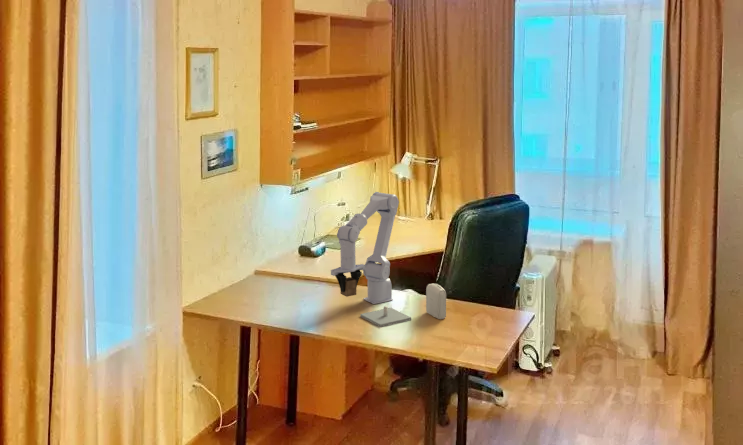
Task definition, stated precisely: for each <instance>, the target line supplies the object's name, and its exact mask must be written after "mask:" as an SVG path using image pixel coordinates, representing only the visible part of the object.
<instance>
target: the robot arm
mask: <svg viewBox="0 0 743 445" xmlns="http://www.w3.org/2000/svg"><path fill="white" fill-rule="evenodd" d="M399 203H400V201H399V198H398V196H397V194H395V193H392V194H391V193H387V192H386V193H385V192H379V191H375V192H373V193H372V195H371V196H369V203H368V204H367V205H366V206H365V207H364V209H363V210H362V211H361V213H358V212H357V213H355V214H354V216H353V217H352V218H351V219H350V220H349V221H347V223H346V224H345V225H341V226H340V227H339V228H338V230H337V233H336V237H337V239H338V243H339V246H340V247H339V248H340V266H339V267H336V268H333V269H330V276H333V277H334V276H335V278H336V280H337V283H338V285H339V288H340V289H341V290H340V292H341V291H342V292H345V282H346V278H347V276H346V275H345V274H348V273H350V277H351V278H353V279H355V280H356V288H358V283H359V281H360V279H361V277H362V275H364V276H365V279H366V280H367V296H366V297H363V299H362V300H364V301H366V302H369V303H370V304H372V305H376V304H380V303H381V304H382V303H385V302H390V301H393V300H394V299H393V297H392V295H393V294H392V291H393V289H392V281H391V279H390V278H389V276H390V273H391V272H390V271H391V270H390V267H391V263H390V261H389V260H388V259H387V253H388V249H389V244H390V240H391V236H392V232H393V227H394V222H395V218H396V215H397V213H398V208H399ZM376 212H377V213H378V214H379V215H380V220H379V222H380V223H379V227H378V231H377V235H376V240H375V244H374V249H373V252H372V255H370V256H368V257H367V258H366V262H365V263H364V264H363V263H362V264H361V263H360V264H356V241H357V240H358V239H359V235H360V234H361V231H362V230H363V229H364V228H365V227H366V226H367V225H368V219H370V218H371V217H372V216H373V215H374V214H375V213H376ZM362 271H363V273H362Z"/></svg>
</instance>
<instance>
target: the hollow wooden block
mask: <svg viewBox="0 0 743 445" xmlns="http://www.w3.org/2000/svg"><path fill="white" fill-rule="evenodd" d="M340 294H341V295H342V296H343V297H346V298H347V297H352V296H357V287H356V280H355V279H353V278H351V276H349V277H348V276H347V277H346V282H345V292H342V291H341V289H340Z"/></svg>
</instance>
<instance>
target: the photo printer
mask: <svg viewBox="0 0 743 445" xmlns="http://www.w3.org/2000/svg"><path fill="white" fill-rule="evenodd" d="M425 290H426V291H425V309H426V310H425V311H426V312H425V313H427V314H428V315H430V316H432V317H434V318H436V319H438V320H444V319H445V318H447V292H446V290H445V289H444V288H443V287H442V286H441V285H440V284H438V283H428V284H427V285H426V289H425Z"/></svg>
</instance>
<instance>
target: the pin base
mask: <svg viewBox="0 0 743 445" xmlns="http://www.w3.org/2000/svg"><path fill="white" fill-rule="evenodd" d="M359 316H360V317H361V319H364V320H366V321H368V322H370V323H372V324H373V325H376V326H378V327H379V328H382V327H387V326H391V325H395V324H400V323H404V322H408V321H412V317H411V316H409V315H406V314H405V313H403V312H401V311H399V310H397V309H394V308H393V307H388V306H386V305H385V306H383V308H382V309H379V310H373V311H367V312H363V313H360V315H359Z"/></svg>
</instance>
